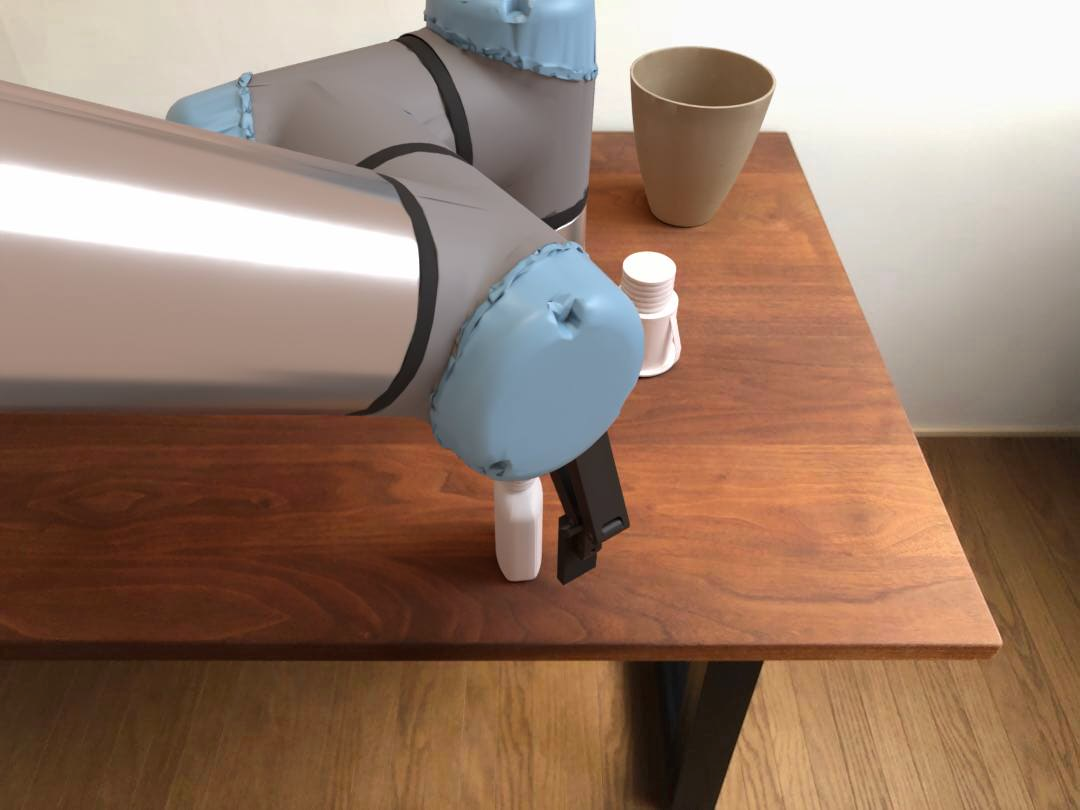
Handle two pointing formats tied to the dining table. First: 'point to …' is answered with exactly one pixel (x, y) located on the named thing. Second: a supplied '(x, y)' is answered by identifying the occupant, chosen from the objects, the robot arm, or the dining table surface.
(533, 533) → the eye dropper bottle
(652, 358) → the downlight
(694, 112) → the plant pot
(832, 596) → the dining table surface
